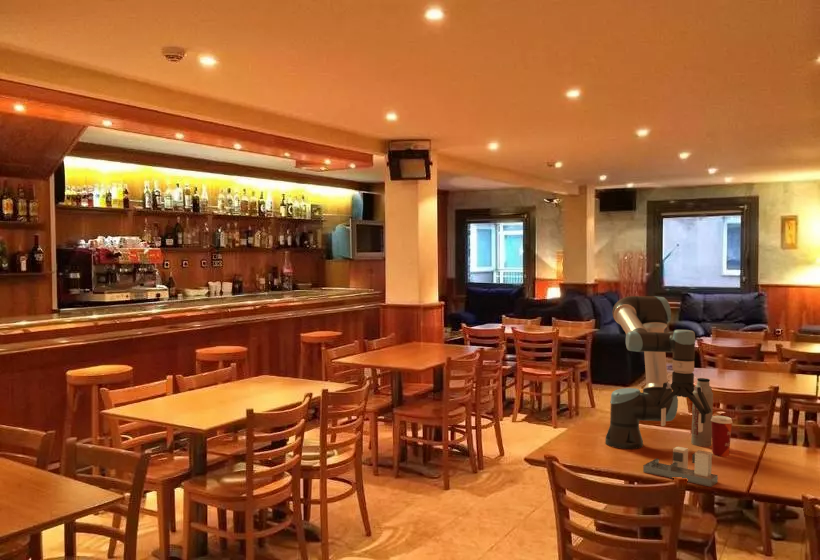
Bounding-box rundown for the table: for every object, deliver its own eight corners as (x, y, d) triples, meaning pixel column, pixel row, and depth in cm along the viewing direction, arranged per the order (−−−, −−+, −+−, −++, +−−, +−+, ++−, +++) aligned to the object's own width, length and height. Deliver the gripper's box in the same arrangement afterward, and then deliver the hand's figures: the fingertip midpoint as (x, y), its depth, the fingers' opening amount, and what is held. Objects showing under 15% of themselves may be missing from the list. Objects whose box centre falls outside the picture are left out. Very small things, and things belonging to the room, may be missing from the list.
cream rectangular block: (676, 467, 263) (677, 446, 263) (687, 469, 261) (688, 448, 260) (671, 470, 259) (672, 449, 259) (682, 472, 256) (683, 451, 256)
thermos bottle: (697, 446, 292) (699, 380, 291) (687, 441, 300) (689, 377, 299) (715, 446, 293) (717, 380, 292) (705, 441, 301) (707, 377, 300)
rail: (643, 472, 256) (644, 443, 256) (650, 467, 262) (651, 440, 261) (711, 486, 241) (712, 456, 241) (717, 482, 246) (718, 452, 246)
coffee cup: (734, 458, 276) (735, 420, 276) (711, 456, 278) (713, 419, 277) (728, 452, 285) (730, 416, 284) (707, 450, 286) (708, 414, 286)
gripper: (646, 368, 264) (644, 424, 265) (715, 376, 248) (713, 436, 249) (653, 366, 270) (652, 421, 270) (721, 374, 254) (719, 432, 254)
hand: (681, 428), depth 259 cm, fingers open, 13 cm apart
